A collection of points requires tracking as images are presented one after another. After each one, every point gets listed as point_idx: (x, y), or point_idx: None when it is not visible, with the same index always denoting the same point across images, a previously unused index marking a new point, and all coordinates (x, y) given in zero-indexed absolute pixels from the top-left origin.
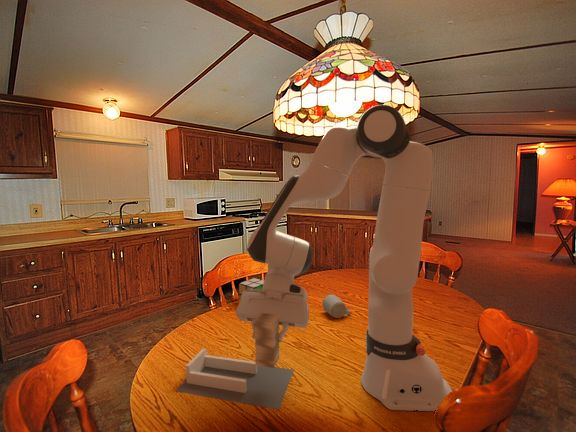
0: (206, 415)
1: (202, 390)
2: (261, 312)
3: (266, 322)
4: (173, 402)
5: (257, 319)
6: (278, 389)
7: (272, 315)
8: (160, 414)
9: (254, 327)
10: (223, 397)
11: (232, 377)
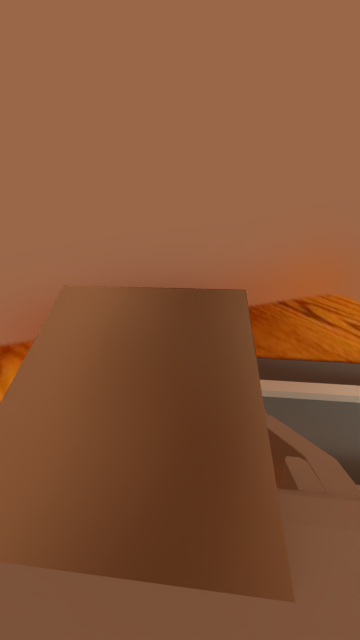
0: (261, 325)
1: (317, 376)
2: (305, 623)
3: (131, 287)
4: (343, 341)
5: (237, 320)
6: None
7: (55, 493)
8: (335, 315)
9: (271, 426)
10: (258, 363)
11: (266, 389)
